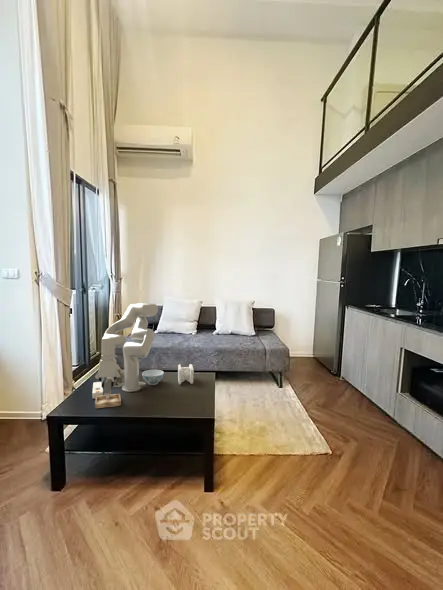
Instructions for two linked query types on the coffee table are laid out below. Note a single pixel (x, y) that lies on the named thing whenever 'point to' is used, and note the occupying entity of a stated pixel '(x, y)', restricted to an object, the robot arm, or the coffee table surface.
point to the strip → (97, 390)
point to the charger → (107, 389)
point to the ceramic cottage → (120, 379)
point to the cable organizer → (185, 373)
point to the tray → (108, 401)
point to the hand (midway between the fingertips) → (107, 387)
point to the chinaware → (152, 376)
